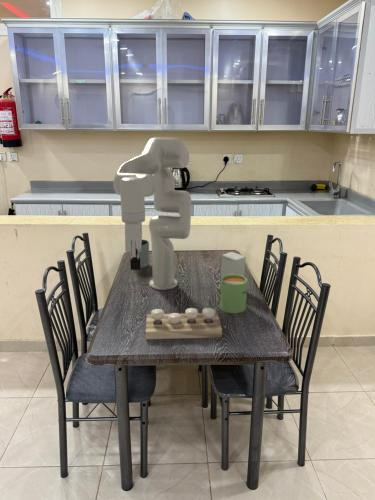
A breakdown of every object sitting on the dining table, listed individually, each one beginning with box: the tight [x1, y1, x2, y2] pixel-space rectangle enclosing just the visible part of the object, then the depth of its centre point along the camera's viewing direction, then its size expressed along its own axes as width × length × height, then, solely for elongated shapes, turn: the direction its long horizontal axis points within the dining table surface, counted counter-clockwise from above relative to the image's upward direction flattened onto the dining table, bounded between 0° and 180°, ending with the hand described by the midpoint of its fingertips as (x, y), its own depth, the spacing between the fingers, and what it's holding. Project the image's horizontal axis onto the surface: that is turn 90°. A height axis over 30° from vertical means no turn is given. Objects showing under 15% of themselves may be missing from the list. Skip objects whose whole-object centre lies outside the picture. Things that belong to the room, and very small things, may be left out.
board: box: [145, 312, 223, 340], centre depth 141 cm, size 12×26×3 cm, turn 93°
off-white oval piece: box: [150, 308, 165, 325], centre depth 139 cm, size 4×4×5 cm
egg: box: [201, 307, 216, 323], centre depth 140 cm, size 4×4×5 cm
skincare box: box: [219, 251, 246, 289], centre depth 171 cm, size 8×7×16 cm
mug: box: [219, 274, 248, 314], centre depth 156 cm, size 13×10×12 cm
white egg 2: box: [184, 307, 199, 324], centre depth 140 cm, size 4×4×5 cm
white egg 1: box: [168, 312, 181, 324], centre depth 140 cm, size 4×4×5 cm
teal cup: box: [139, 239, 150, 269], centre depth 198 cm, size 10×10×12 cm
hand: (135, 268), depth 133 cm, fingers closed
